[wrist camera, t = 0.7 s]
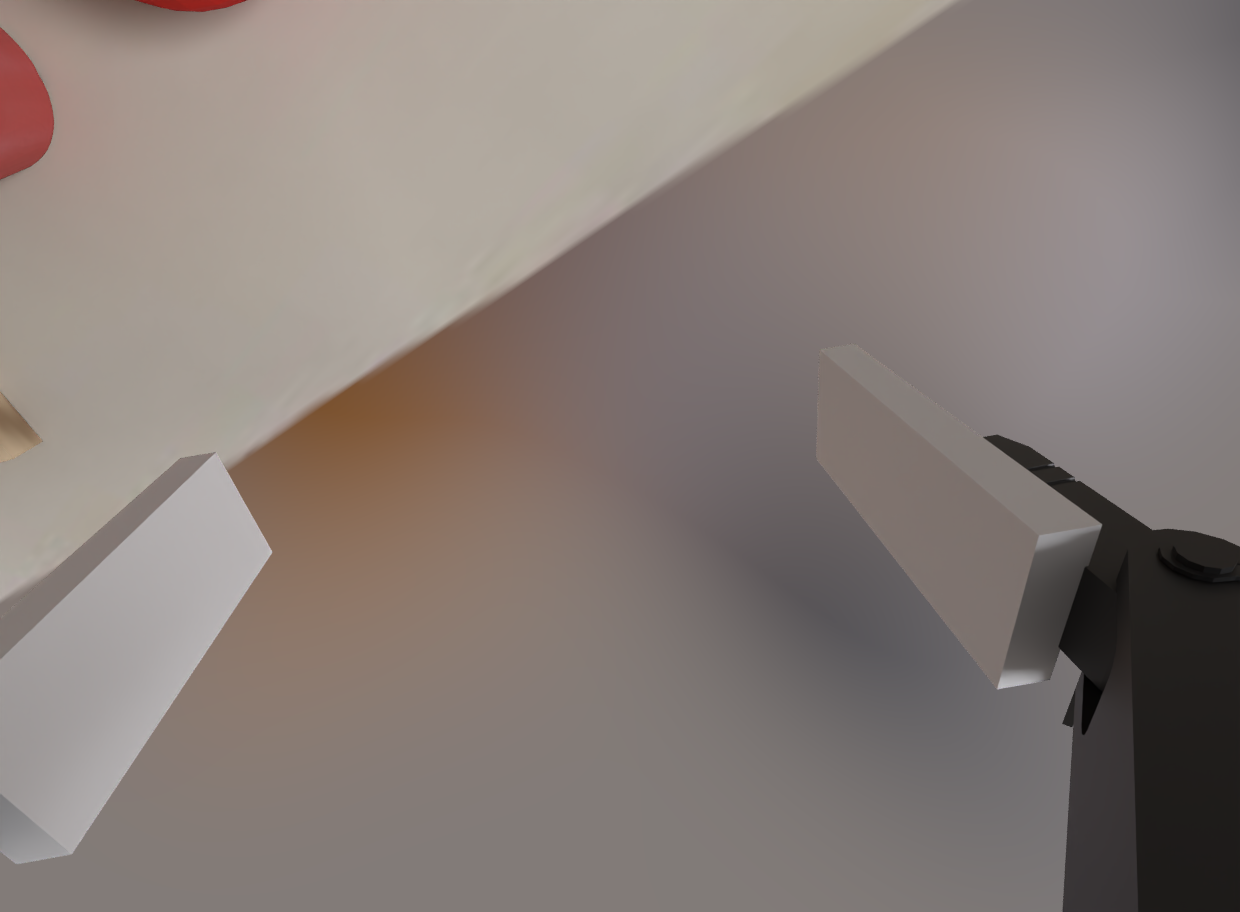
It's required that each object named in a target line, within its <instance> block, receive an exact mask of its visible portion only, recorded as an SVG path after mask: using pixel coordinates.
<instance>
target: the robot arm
mask: <svg viewBox="0 0 1240 912" xmlns="http://www.w3.org/2000/svg"><path fill="white" fill-rule="evenodd" d="M819 353H820V355H819V385H818V417H817V451H816V459H817V460H818V461H819V463H820V464H821V465H822V466H823V468H824V469H825V470H826V471H827V473H828V474H829V475H830V477H831V478H832V479H833V480H834V482H835V483H836V484H837V485H838V487H839V488H840V489H841V491H842V492H843V493H844V494H845V496H846V497H847V498H848V500H849V501H850V502H851V503H852V505H853V506H854V507H855V508H856V510H857V511H858V512H859V514H860V515H861V516H862V517H863V519H864V520H865V521H866V522H867V524H868V525H869V526H870V528H871V529H872V530H873V531H874V533H875V534H876V535H877V537H878V538H879V539H880V540H881V542H882V543H883V544H884V545H885V547H886V548H887V549H888V551H889V552H890V553H891V554H892V556H893V557H894V558H895V560H896V561H897V562H898V563H899V565H900V566H901V567H902V568H903V570H904V571H905V572H906V574H907V575H908V576H909V577H910V579H911V580H912V581H913V583H914V584H915V585H916V586H917V587H918V589H919V590H920V591H921V593H922V594H923V595H924V596H925V598H926V599H927V600H928V601H929V603H930V604H931V605H932V607H933V608H934V609H935V610H936V612H937V613H938V614H939V616H940V617H941V618H942V620H943V621H944V622H945V623H946V625H947V626H948V627H949V628H950V630H951V631H952V632H953V634H954V635H955V636H956V637H957V639H958V640H959V641H960V642H961V644H962V645H963V646H964V648H965V649H966V650H967V651H968V653H969V654H970V655H971V656H972V658H973V659H974V660H975V661H976V663H977V664H978V665H979V667H980V668H981V669H982V671H983V672H984V673H985V674H986V676H987V677H988V678H989V679H990V681H991V682H992V683H993V685H994V686H995V687H996V688H997V689H1001V688H1007V687H1012V686H1018V685H1024V684H1029V683H1035V682H1040V681H1046V680H1050V678H1051V675H1052V672H1053V669H1054V666H1055V663H1056V661H1057V658H1058V654H1059V652H1060V649H1061V650H1062V651H1063V652H1064V653H1065V654H1066V655H1067V656H1068V658H1070V660H1071V661H1072V662H1073V663H1074V664H1075V665H1076V666H1077V667H1078V668H1079V669H1080V670H1081V671H1082V673H1081V675H1080V678H1079V681H1078V683H1077V686H1076V689H1075V691H1074V694H1073V697H1072V699H1071V703H1070V705H1069V707H1068V710H1067V713H1066V715H1065V718H1064V721H1063V724H1065V725H1067V726H1070V727H1072V726H1073V742H1072V760H1071V776H1070V793H1069V811H1068V828H1067V845H1066V863H1065V879H1064V896H1063V898H1064V899H1063V912H1240V547H1239V546H1237V545H1235V544H1233V543H1230V542H1228V541H1226V540H1224V539H1220V538H1216V537H1213V536H1209V535H1205V534H1202V533H1198V532H1193V531H1184V530H1174V529H1162V530H1152V529H1150V528H1149V527H1147V526H1145V525H1144V524H1143V523H1141V522H1140V521H1138V520H1137V519H1135V518H1134V517H1132V516H1131V515H1129V514H1128V513H1126V512H1125V511H1124V510H1122V509H1121V508H1119V507H1117V506H1116V505H1115V504H1113V503H1111V502H1110V501H1109V500H1107V499H1106V498H1104V497H1103V496H1101V495H1100V494H1098V493H1097V492H1095V491H1094V490H1092V489H1091V488H1090V487H1088V486H1086V485H1085V484H1084V483H1082V482H1081V481H1077V482H1076V481H1075V477H1073V476H1072V475H1070V474H1069V473H1067V472H1066V471H1064V470H1063V469H1062V468H1060V467H1055V466H1054V463H1052V462H1051V461H1050V460H1048V459H1047V458H1045V457H1044V456H1042V455H1041V454H1039V453H1038V452H1036V451H1035V450H1033V449H1032V448H1030V447H1029V446H1026V445H1023V444H1021V443H1018V442H1015V441H1012V440H1010V439H1007V438H1004V437H1001V436H999V435H993V436H987V437H982V436H980V435H979V434H978V433H976V432H975V431H973V430H972V429H971V428H969V427H968V426H967V425H965V424H964V423H962V422H961V421H960V420H958V419H957V418H955V417H954V416H953V415H951V414H950V413H949V412H947V411H946V410H945V409H943V408H942V407H941V406H939V405H938V404H936V403H935V402H934V401H932V400H931V399H930V398H928V397H927V396H925V395H924V394H923V393H921V392H920V391H919V390H917V389H916V388H914V387H913V386H912V385H910V384H909V383H907V382H906V381H905V380H903V379H902V378H901V377H899V376H898V375H897V374H895V373H894V372H892V371H891V370H890V369H888V368H887V367H886V366H884V365H883V364H882V363H880V362H879V361H877V360H876V359H875V358H873V357H872V356H871V355H869V354H868V353H866V352H865V351H864V350H862V349H861V348H860V347H858V346H857V345H855V344H849V345H843V346H837V347H831V348H826V349H820V352H819ZM271 554H272V551H271V549H270V547H269V545H268V544H267V542H266V540H265V538H264V537H263V535H262V533H261V531H260V529H259V528H258V526H257V524H256V522H255V520H254V519H253V517H252V515H251V513H250V511H249V510H248V508H247V506H246V505H245V503H244V501H243V499H242V497H241V495H240V494H239V492H238V490H237V488H236V487H235V485H234V483H233V481H232V480H231V478H230V476H229V474H228V472H227V471H226V469H225V467H224V465H223V463H222V462H221V460H220V458H219V456H218V455H217V453H216V452H214V453H208V454H202V455H196V456H191V457H185V458H180V459H179V460H178V461H177V462H176V463H174V464H173V465H172V466H171V467H170V468H169V469H168V470H167V471H165V472H164V473H163V474H162V475H161V476H160V477H159V478H158V479H156V480H155V481H154V482H153V483H152V484H151V485H150V486H148V487H147V488H146V489H145V490H144V491H143V492H142V493H141V494H139V495H138V496H137V497H136V498H135V499H134V500H133V501H132V502H130V503H129V504H128V505H127V506H126V507H125V508H124V509H123V510H121V511H120V512H119V513H118V514H117V515H116V516H115V517H113V518H112V519H111V520H110V521H109V522H108V523H107V524H106V525H104V526H103V527H102V528H101V529H100V530H99V531H98V532H97V533H95V534H94V535H93V536H92V537H91V538H90V539H89V540H88V541H86V542H85V543H84V544H83V545H82V546H81V547H80V548H78V549H77V550H76V551H75V552H74V553H73V554H72V555H71V556H69V557H68V558H67V559H66V560H65V561H64V562H63V563H62V564H60V565H59V566H58V567H57V568H56V569H55V570H54V571H53V572H51V573H50V574H49V575H48V576H47V577H46V578H45V579H43V580H42V581H41V582H40V583H39V584H38V585H37V586H36V587H34V588H33V589H32V590H31V591H30V592H29V593H28V594H27V595H25V596H24V597H23V598H22V599H21V600H20V601H19V602H18V603H17V604H15V605H14V606H13V607H12V608H11V609H10V610H8V611H7V612H6V613H5V614H4V615H3V616H2V617H1V618H0V852H1V853H3V854H4V855H5V856H7V857H8V858H9V859H10V860H12V861H13V862H14V863H16V864H20V863H26V862H32V861H37V860H43V859H48V858H54V857H59V856H65V855H71V854H72V853H73V852H74V850H75V849H76V847H77V846H78V844H79V842H80V841H81V839H82V838H83V836H84V835H85V833H86V832H87V830H88V829H89V827H90V826H91V824H92V823H93V821H94V820H95V818H96V817H97V815H98V814H99V812H100V811H101V809H102V808H103V806H104V805H105V803H106V802H107V800H108V799H109V797H110V796H111V794H112V793H113V791H114V790H115V788H116V787H117V785H118V784H119V782H120V781H121V779H122V778H123V776H124V775H125V773H126V772H127V770H128V769H129V767H130V765H131V764H132V763H133V761H134V760H135V758H136V757H137V755H138V754H139V752H140V751H141V749H142V747H143V746H144V745H145V743H146V742H147V740H148V738H149V737H150V736H151V734H152V733H153V731H154V729H155V728H156V727H157V725H158V724H159V722H160V721H161V719H162V718H163V716H164V715H165V713H166V711H167V710H168V709H169V707H170V705H171V704H172V703H173V701H174V699H175V698H176V697H177V695H178V693H179V692H180V691H181V689H182V687H183V686H184V684H185V683H186V681H187V680H188V678H189V677H190V675H191V674H192V672H193V671H194V669H195V668H196V666H197V665H198V663H199V662H200V660H201V659H202V657H203V656H204V654H205V653H206V651H207V650H208V648H209V647H210V645H211V644H212V642H213V641H214V639H215V638H216V636H217V635H218V633H219V632H220V630H221V629H222V627H223V626H224V624H225V623H226V621H227V620H228V618H229V617H230V615H231V614H232V612H233V611H234V609H235V608H236V606H237V605H238V603H239V602H240V600H241V598H242V597H243V596H244V594H245V593H246V591H247V590H248V588H249V587H250V585H251V584H252V582H253V581H254V579H255V578H256V576H257V575H258V573H259V572H260V570H261V568H262V567H263V566H264V564H265V562H266V561H267V560H268V558H269V557H270V555H271Z"/></svg>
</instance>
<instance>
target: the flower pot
mask: <svg viewBox="0 0 1240 912" xmlns="http://www.w3.org/2000/svg"><path fill="white" fill-rule="evenodd" d="M53 129H54V118H53V110H52V105H51V102H50V98H49V95H48V92H47V90H46V88H45V86H44V83H43V82H42V80H41V78H40V77H39V75H38V73H37V71H36V69H35V67H34V65H33V63H32V62H31V60H30V59H29V58H28V56H27V55H26V54H25V52H24V51H23V50H22V49H21V48H20V47H19V45H18V44H17V43H16V42H15V41H14V40H13V39H12V38H11V37H10V36H9V35H8V34H7V33H6V32H5V31H4V30H3V29H2V28H0V179H3V178H5V177H7V176H10V175H12V174H14V173H17V172H19V171H21V170H23V169H26V168H28V167H30V166H32V165H33V164H35V163H36V162H37V161H38V160H39V159H40V158H41V157H42V156H43V155H44V154H45V152H46V151H47V150H48V147H49V145H50V143H51V139H52V135H53Z"/></svg>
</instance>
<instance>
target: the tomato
mask: <svg viewBox="0 0 1240 912" xmlns="http://www.w3.org/2000/svg"><path fill="white" fill-rule="evenodd" d="M136 1H139V2H143V3H147V4H150V5H154V6H157V7H161V8H165V9H170V10H175V11H196V12H204V11H210V10H215V9H220V8H226V7H229V6H232V5H235V4H238V3H241V2H244V1H246V0H136Z"/></svg>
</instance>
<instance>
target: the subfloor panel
mask: <svg viewBox="0 0 1240 912" xmlns="http://www.w3.org/2000/svg"><path fill="white" fill-rule="evenodd" d="M41 442H42V440H41V439H40V438H39V436H38V435H37V434H36V433H35V432H34V431H33V429H32V428H31V427H30V426H29V425H28V424H27V422H26V421H25V420H24V419H23V418H22V417H21V415H20V414H19V413H18V412H17V411H16V410H15V408H14V407H13V406H12V405H11V404H10V403H9V401H8V400H7V399H6V398H5V397H4V396H3V394H2V393H1V392H0V462H4V461H7V460H11V459H14V458H16V457H17V456H19V455H21V454H22V453H24V452H26V451H27V450H29V449H31V448H32V447H34V446H36V445H37V444H39V443H41Z"/></svg>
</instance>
